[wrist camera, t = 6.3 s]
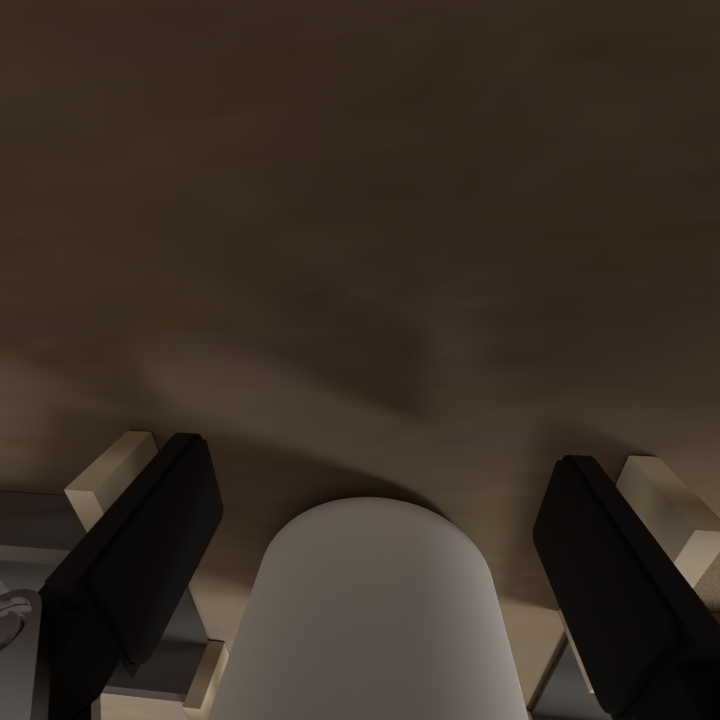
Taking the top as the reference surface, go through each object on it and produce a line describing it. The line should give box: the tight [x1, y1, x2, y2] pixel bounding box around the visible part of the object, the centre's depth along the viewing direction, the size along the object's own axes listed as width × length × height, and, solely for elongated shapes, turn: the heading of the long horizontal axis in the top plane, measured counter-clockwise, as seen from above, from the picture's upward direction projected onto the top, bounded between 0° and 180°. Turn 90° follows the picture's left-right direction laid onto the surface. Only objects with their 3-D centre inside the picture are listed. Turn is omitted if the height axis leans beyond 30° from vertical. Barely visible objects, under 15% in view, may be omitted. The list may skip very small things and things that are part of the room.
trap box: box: [0, 431, 720, 720], centre depth 19 cm, size 33×44×3 cm
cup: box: [207, 497, 529, 720], centre depth 12 cm, size 10×10×10 cm
